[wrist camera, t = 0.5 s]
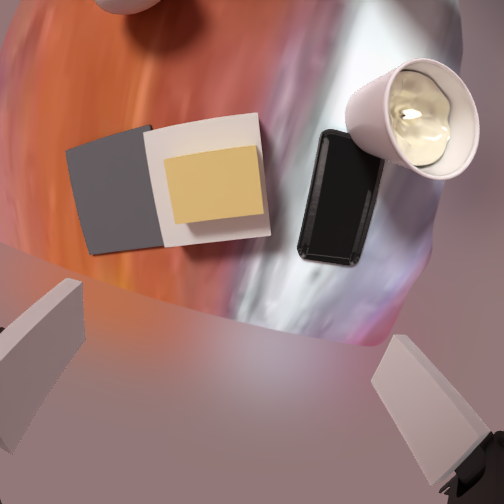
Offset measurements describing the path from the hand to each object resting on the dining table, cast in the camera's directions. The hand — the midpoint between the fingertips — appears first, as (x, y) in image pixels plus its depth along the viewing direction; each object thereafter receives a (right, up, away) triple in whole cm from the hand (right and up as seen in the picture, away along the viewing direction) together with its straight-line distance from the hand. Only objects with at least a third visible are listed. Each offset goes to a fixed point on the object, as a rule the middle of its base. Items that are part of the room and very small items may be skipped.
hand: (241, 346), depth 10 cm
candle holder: (+14, +18, +17) cm, 29 cm away
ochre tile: (-3, +10, +16) cm, 19 cm away
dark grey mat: (-16, +10, +20) cm, 27 cm away
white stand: (-4, +12, +19) cm, 23 cm away
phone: (+11, +10, +21) cm, 25 cm away
